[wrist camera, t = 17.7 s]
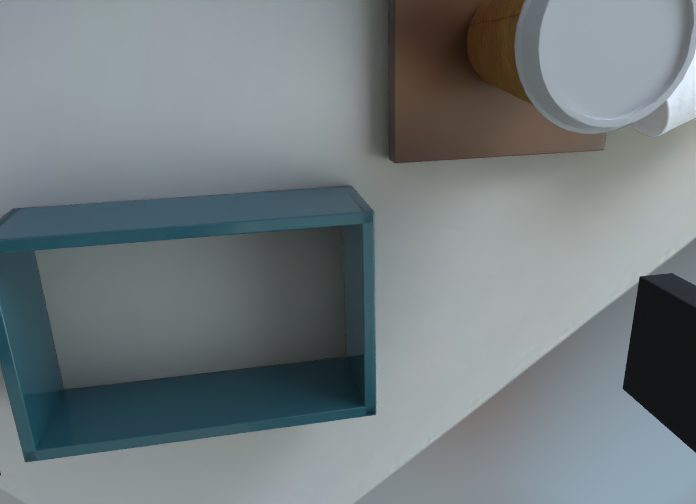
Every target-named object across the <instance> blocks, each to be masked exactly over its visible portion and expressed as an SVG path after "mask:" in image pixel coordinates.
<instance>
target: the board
mask: <svg viewBox="0 0 696 504" xmlns="http://www.w3.org/2000/svg"><path fill="white" fill-rule="evenodd" d="M484 1H485V0H389V159H390V160H391V161H392V162H394V163H406V162H422V161H438V160H454V159H470V158H486V157H502V156H518V155H534V154H550V153H566V152H582V151H598V150H604V148H605V140H606V132H603V133H597V134H585V133H578V132H573V131H569V130H566V129H563V128H561V127H559V126H557V125H556V124H554V123H552V122H551V121H549V120H548V119H546V118H545V117H544V116H543V115H542V114H541V113H540V112H539V111H538V110H537V109H536V108H535V106H533V105H531V104H529V103H527V102H526V101H523V100H521V99H519V98H517V97H515V96H513V95H512V94H510V93H508V92H506V91H504V90H502V89H500V88H498V87H496V86H494V85H491V84H489V83H488V82H486V81H484V80H483V79H482V78H481V77H480V76H479V75H478V74H477V72H476V71H475V70H474V69H473V66H472V64H471V62H470V60H469V56H468V52H467V33H468V29H469V26H470V22H471V20H472V18H473V16H474V13H475V12H476V10H477V9H478V8H479V6H480V5H481V4H482V3H483V2H484Z"/></svg>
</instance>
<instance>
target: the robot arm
mask: <svg viewBox="0 0 696 504" xmlns="http://www.w3.org/2000/svg"><path fill="white" fill-rule="evenodd" d="M623 389H624V390H625V391H626V392H627V393H628V394H629V395H630V396H632V397H633V398H634V399H635V400H636V401H637V402H639V403H640V404H641V405H642V406H643V407H644V408H645V409H646V410H648V411H649V412H650V413H651V414H652V415H653V416H655V417H656V418H657V419H658V420H659V421H660V422H661V423H662V424H664V425H665V426H666V427H667V428H668V429H669V430H670V431H672V432H673V433H674V434H675V435H676V436H677V437H678V438H680V439H681V440H682V441H683V442H684V443H685V444H686V445H688V446H689V447H690V448H691V449H692V450H693V451H694V452H696V286H695V285H693V284H692V283H690V282H688V281H686V280H684V279H682V278H680V277H678V276H676V275H674V274H672V273H670V274H660V275H650V276H640V278H639V285H638V292H637V298H636V305H635V312H634V318H633V325H632V331H631V337H630V344H629V351H628V357H627V364H626V371H625V377H624V384H623ZM0 475H1V473H0Z"/></svg>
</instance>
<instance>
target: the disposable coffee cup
mask: <svg viewBox="0 0 696 504" xmlns="http://www.w3.org/2000/svg"><path fill="white" fill-rule="evenodd" d="M695 50H696V0H485V1H484V2H483V3H482V4H481V5H480V6H479V8H478V9H477V10H476V12H475V13H474V16H473V18H472V20H471V22H470V26H469V29H468V33H467V52H468V56H469V60H470V62H471V64H472V66H473V69H474V70H475V71H476V72H477V74H478V75H479V76H480V77H481V78H482V79H483V80H484V81H486V82H488V83H489V84H491V85H494V86H496V87H498V88H500V89H502V90H504V91H506V92H508V93H510V94H512V95H513V96H515V97H517V98H519V99H521V100H523V101H526V102H527V103H529V104H531V105H533V106H535V108H536V109H537V110H538V111H539V112H540V113H541V114H542V115H543V116H544V117H545V118H546V119H548V120H549V121H551V122H552V123H554V124H556V125H557V126H559V127H561V128H563V129H566V130H569V131H573V132H578V133H585V134H597V133H603V132H609V131H613V130H616V129H618V128H621V127H624V126H626V125H628V124H630V123H633V122H635V121H637V120H639V119H641V118H643V117H645V116H647V115H648V114H650V113H651V112H653V111H654V110H656V109H657V108H658V107H659V106H660V105H661V104H663V103H664V102H665V101H666V100H667V99H668V98H669V97H670V96H671V94H672V93H673V92H674V91H675V89H676V88H677V87H678V85H679V84H680V83H681V81H682V80H683V78H684V76H685V74H686V72H687V70H688V68H689V66H690V64H691V62H692V60H693V58H694V54H695Z"/></svg>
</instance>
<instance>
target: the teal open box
mask: <svg viewBox="0 0 696 504" xmlns="http://www.w3.org/2000/svg"><path fill="white" fill-rule="evenodd" d="M333 226H343V260H344V295H345V330H346V357H342V358H333V359H325V360H316V361H308V362H299V363H291V364H282V365H274V366H265V367H257V368H248V369H240V370H231V371H223V372H214V373H206V374H197V375H189V376H180V377H172V378H163V379H155V380H146V381H138V382H129V383H121V384H112V385H104V386H95V387H87V388H78V389H70V390H64V388H63V383H62V378H61V374H60V369H59V364H58V360H57V355H56V351H55V346H54V341H53V337H52V332H51V327H50V323H49V318H48V313H47V309H46V304H45V299H44V295H43V290H42V285H41V281H40V276H39V271H38V267H37V262H36V257H35V253H34V250H44V249H57V248H70V247H82V246H95V245H107V244H120V243H132V242H145V241H158V240H170V239H183V238H195V237H208V236H220V235H233V234H246V233H258V232H271V231H283V230H296V229H308V228H321V227H333ZM0 364H1V368H2V372H3V376H4V380H5V384H6V388H7V392H8V396H9V400H10V404H11V408H12V412H13V416H14V420H15V424H16V428H17V432H18V436H19V440H20V444H21V447H22V451H23V456H24V460H25V462H31V461H39V460H46V459H53V458H61V457H68V456H75V455H83V454H90V453H98V452H105V451H112V450H120V449H127V448H135V447H142V446H149V445H157V444H164V443H171V442H179V441H186V440H194V439H201V438H208V437H216V436H223V435H231V434H238V433H245V432H253V431H260V430H267V429H275V428H282V427H290V426H297V425H304V424H312V423H319V422H327V421H334V420H341V419H349V418H356V417H363V416H371V415H376V342H375V240H374V211H373V210H372V208H371V207H370V206H369V205H368V204H367V203H366V202H365V200H364V199H363V198H362V197H361V196H360V195H359V193H358V192H357V191H356V190H355V189H354V188H353V187H352V186H340V187H325V188H311V189H296V190H281V191H267V192H252V193H237V194H223V195H208V196H193V197H179V198H164V199H149V200H135V201H120V202H105V203H91V204H76V205H61V206H47V207H32V208H17V209H12V210H11V211H9V212H8V213H7V214H5V215H4V216H3V217H2V218H0Z"/></svg>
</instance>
